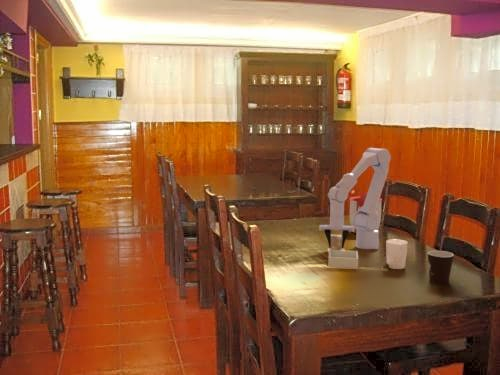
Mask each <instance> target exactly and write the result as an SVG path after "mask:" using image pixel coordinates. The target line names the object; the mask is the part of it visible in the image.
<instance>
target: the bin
mask: <svg viewBox="0 0 500 375" xmlns="http://www.w3.org/2000/svg"><path fill="white" fill-rule="evenodd" d="M358 251H359V250H329V253H328V261H327V262H328V263H327V264H328V266H327V268H333V269H336V268H337V269H349V270H350V269H352V270H353V269H354V270H358V269H359V252H358Z"/></svg>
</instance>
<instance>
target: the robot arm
mask: <svg viewBox="0 0 500 375" xmlns="http://www.w3.org/2000/svg"><path fill="white" fill-rule="evenodd" d="M391 159H392V156H391V154H390V152H389V150H388V149H386V148H375V147H368V148H367V149H365V151H364V152H363V153H362V157H361V158H360V160H359V162H358V163H357V164H356V165H355V166H354V168H353V169H352V170H351V172H350V173H349V172H347V173H345V174H343V176H342V178H341V179H339V181H338V182H337V183H336V184H335V186H332V187H331V188H329V191H328V193H327V198H328V199H329V203H330V204H329V206H330V209H329V224H319V226H318V230H319V231H324V234H325V237H326V239H327V242H328V248H331V234H332V231H334V232H335V231H339V232H342V249H344V246H345V243H346V240H347V237H348V236H349V234H350V232H353V233H354V228H355V227H354V226H351V225H346V224H345V201H346V200H347V199H348V196H349V193H350V191H351V190H352V189H353V188H354V187H355V186H356V184H357V183H358V178H359V177H360V176H361V175H362V174H363V172H365V171H366V170H367V169H368V168H369V167H370V166H371V168H372V169H373V171H374V172H373V176H372V178H371V181H370V184H369V187H368V190H367V192H366V193H367V196H366V199H365V202H364V205H363V206H362V207H360V208H359V209H358V212H357V213H356V214H355V216H354V218H353V222H354V224H355V225H356V228H357V234H356V238H355V239H356V240H355V244H356V245H355V247H356V248H358V249H359V250H360V249H362V250H378V249H379V246H380V242H379V229H378V230H375V228H376V227H377V225H378V216H379V214H378V213H377V211H376V207H377V204H378V201H379V198H381V195H382V192H383V189H384V187H385V183H386V180H387V177H388V174H389V169H390V162H391ZM367 214H369V215H367Z"/></svg>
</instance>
